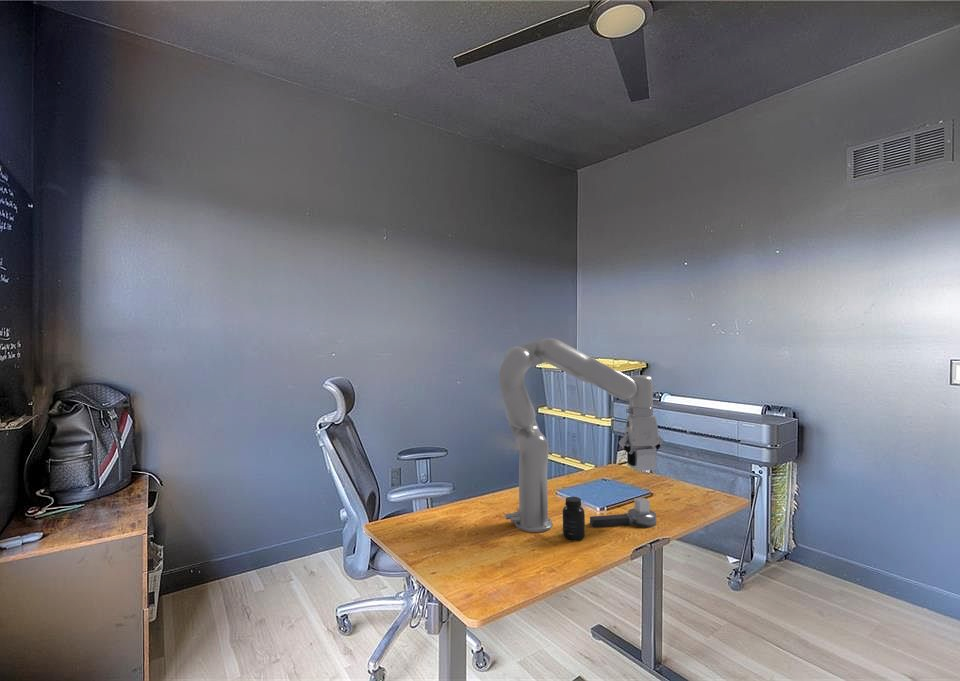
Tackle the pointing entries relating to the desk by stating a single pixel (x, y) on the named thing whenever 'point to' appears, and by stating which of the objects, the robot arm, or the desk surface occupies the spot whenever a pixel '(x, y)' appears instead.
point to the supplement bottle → (573, 519)
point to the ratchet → (628, 516)
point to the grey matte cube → (644, 458)
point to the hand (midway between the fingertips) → (641, 463)
